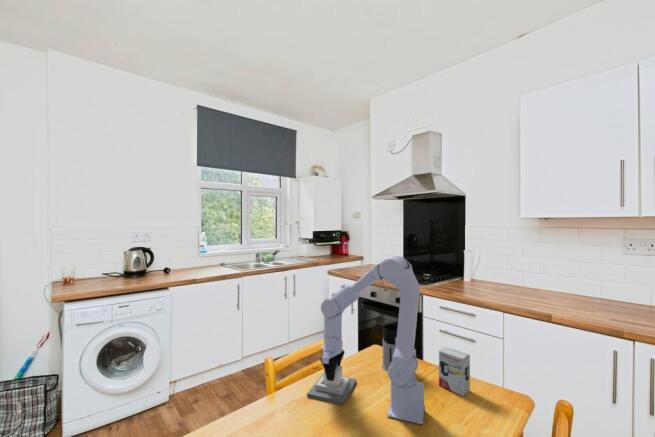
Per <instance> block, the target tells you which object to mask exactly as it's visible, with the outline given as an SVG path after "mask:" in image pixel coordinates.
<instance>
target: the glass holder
mask: <svg viewBox="0 0 655 437" xmlns="http://www.w3.org/2000/svg"><path fill="white" fill-rule="evenodd" d="M382 329H383V330H382V331H383V332H382V334H383V335H382V363H381V369H383V370H384V371H385V372H388V367H389V366H390V364H391V363H392V357H393V354H394V351H395V348H396V340H397V329H398V323H397V324H395V323H388V324H384V325H383V328H382Z"/></svg>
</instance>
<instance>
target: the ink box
mask: <svg viewBox="0 0 655 437" xmlns="http://www.w3.org/2000/svg"><path fill="white" fill-rule="evenodd" d="M438 386H439V387H442V388H444V389H446V390H449V391H451V392H453V393H455V394H458V395H460V396H462V397H463V396H466V395H467V394H469V392H471V356H470V354H469V353H467V352H464V351H461V350H457V349H455V348H452V347H449V346H446V347H445V346H444V347H443V348H441V349H439V351H438Z"/></svg>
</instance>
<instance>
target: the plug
mask: <svg viewBox="0 0 655 437" xmlns="http://www.w3.org/2000/svg"><path fill="white" fill-rule="evenodd" d="M323 373H324V385H329V386H334V387H339V386H340V385H341V383H342V377H343V366H342V365H340V366H338V364H337V365H336V370H335V377H334V380H333V381H329V380H327V377H326V373H325V369H323Z"/></svg>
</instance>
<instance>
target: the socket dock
mask: <svg viewBox="0 0 655 437" xmlns="http://www.w3.org/2000/svg"><path fill="white" fill-rule="evenodd" d="M356 384H357V379H356V378H352V377H348V376H347V377H346V376H342V383H341V385H340V386H339V387H334V386H329V385H324V372H323V373H322V375H321V376H319V378H318V380H316V382H315V383H314V384H313V385H312V386H311V388H310V389H309V390H308V392H307V393H306V397H307V398H311V399H315V400H320V401H325V402H328V403H333V404H337V405H342V406H344V405H345V404H346V401H347V400H348V399H349V396H350V394H351V393H352V392H353V389H354V387H355V385H356Z"/></svg>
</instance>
